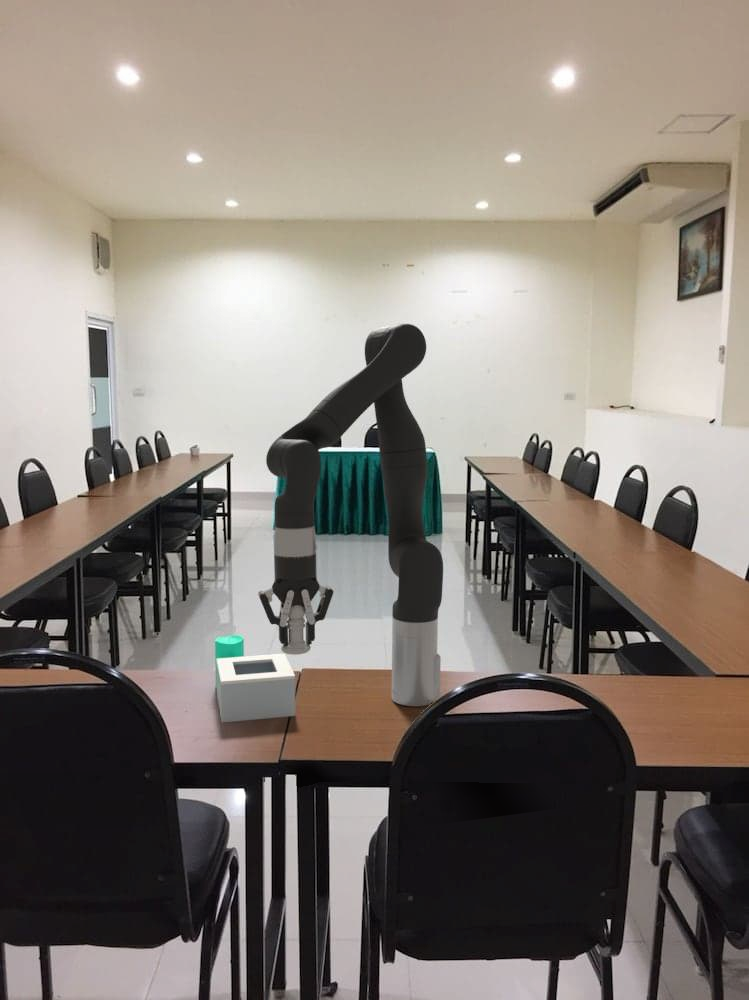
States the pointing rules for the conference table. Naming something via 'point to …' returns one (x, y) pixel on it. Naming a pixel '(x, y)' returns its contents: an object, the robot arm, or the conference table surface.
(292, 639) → the chess piece
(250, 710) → the tissue box
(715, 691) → the conference table surface
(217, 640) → the candle
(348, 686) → the conference table surface
